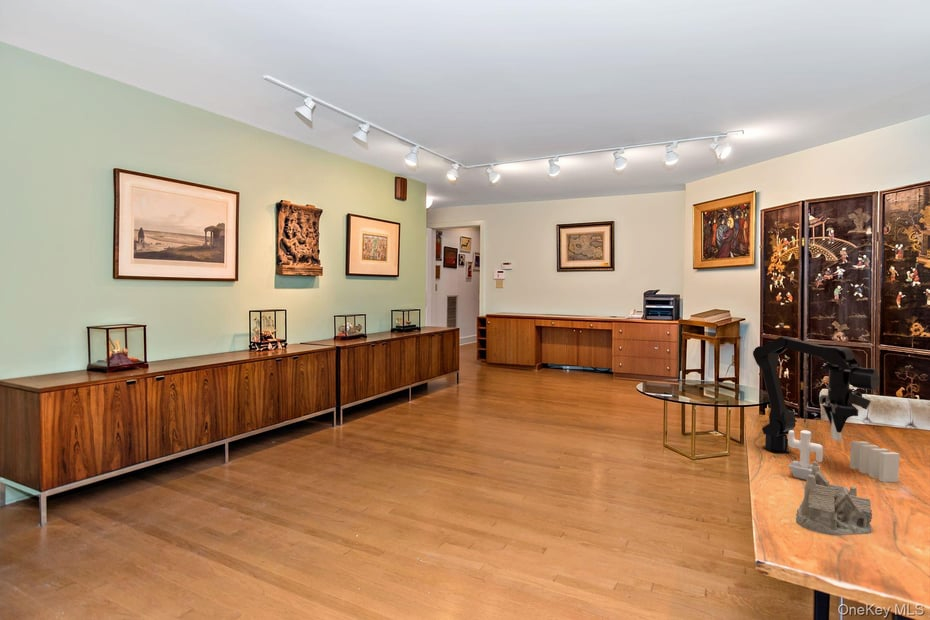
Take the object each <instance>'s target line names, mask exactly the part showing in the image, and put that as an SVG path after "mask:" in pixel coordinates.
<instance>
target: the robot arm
mask: <svg viewBox="0 0 930 620" xmlns="http://www.w3.org/2000/svg"><path fill="white" fill-rule="evenodd" d="M786 350H792V351H795V352H799V353H803V354H806V355H809V356H815V357H817V358H820V359H821V360H823V361H824V362H827V364H825V365H824V366H822V370H824V371H825V370H826V371H828V384H827V385H826V388H825V389H827V394H822V395H820V396H819V399H818V403H819V404H821V407H822V408H823V411H824V413H825V415H826V417H827V419H828V422H829V424H830V425H831V423H832V419H833V422H834V425H835V428H836V431H837V432H840V433H841V432H842V433H843V429H844V427H845V424H846V422H847V420H848V419H849V418H850V417H858V416H859V409H858V408H857V407H856V406H858V407H860V408H862V409H864V410H868V407H870V404H871V402H872V400H870V399H868V398H866V397H864V396H863V394H862V393H861V392H859V391H856V390H855V391H854V392H853V390H852V389H851V388H850V385H851V386H852V387H853V388H859V389H864V390H871V391H876V390H877V389H879V387H880V380H881V379H880V376H879V373H878V371H877V368H872V367H871V368H867V367H862V366H861V364H860V362H859V361H858V360H857V359H856V357H855V354H854V352H853V350H852V349H851V348H850V347H847V346H837V345H836V346H835V345H831V346H830V345H822V344H817V343H813V342H809V341H806V340H805V341H804V340H800V339H798V338H797V339H796V338H793V337H790V336H779V337H778V338H776V339H774V340H771V342H768V343H765V344H764V345H762V346H761V345H760V346H756V347H755V348H754V350H752V356H753V359H754V360H755V363H756V365H757V366H758V367H759V368H760V369H761V372H762V375H763V380H764V384H765V389H766V392H767V396H768V401H769V405H770V411H769V415H768V421H769V422H768V424H766V425H765V426H763V427H762V432H763V433H762V434H764V435H765V442H764V443H765V445H763V446H761V447H762V449H764V450H767V451H768V452H771V453H773V454H787V453H788V454H790V452H791V451H789V450H788V449H789V447H788V446H789V444H788V433H789V431H790V430H793V431H794V429H795V428H796V423H797V420H796V416H795V411H793V410H789V409H788V407H787V406H786V402H785V398H784V395H783V389H782V385H781V381H780V378H779V373H778V365H779V355H780V354H783V353H784V352H785V351H786ZM854 405H856V406H854Z"/></svg>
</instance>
